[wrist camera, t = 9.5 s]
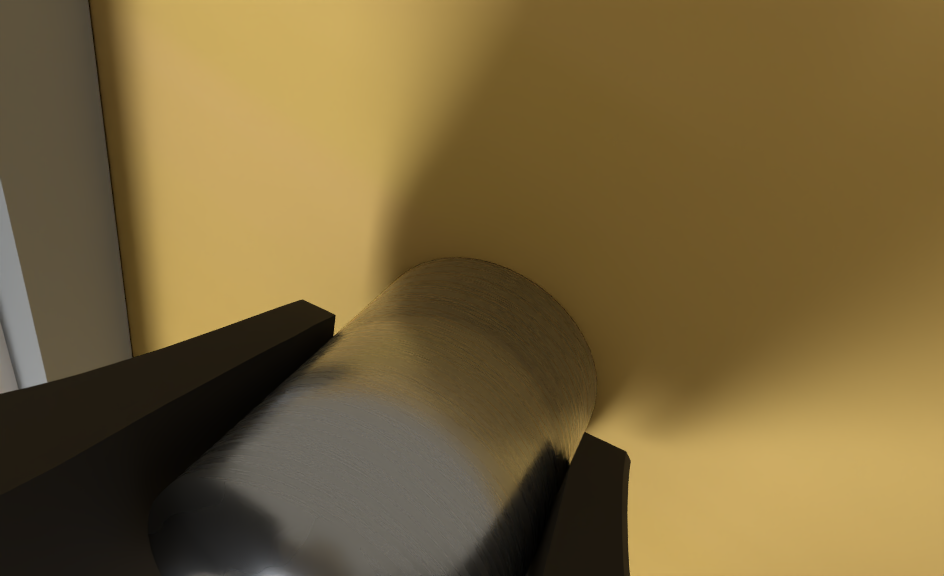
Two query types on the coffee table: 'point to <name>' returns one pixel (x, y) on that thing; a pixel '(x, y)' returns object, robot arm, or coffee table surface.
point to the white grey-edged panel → (55, 201)
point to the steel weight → (397, 442)
